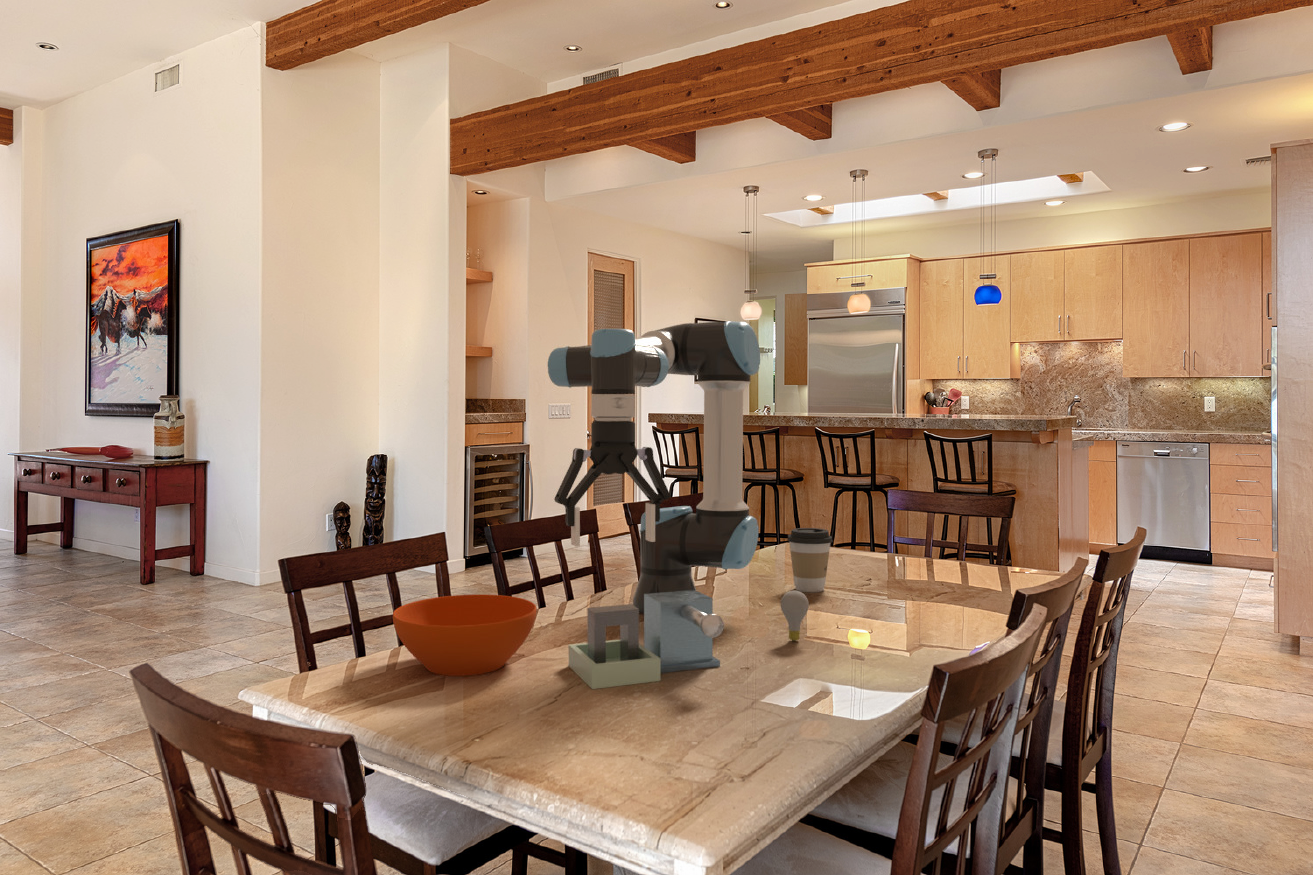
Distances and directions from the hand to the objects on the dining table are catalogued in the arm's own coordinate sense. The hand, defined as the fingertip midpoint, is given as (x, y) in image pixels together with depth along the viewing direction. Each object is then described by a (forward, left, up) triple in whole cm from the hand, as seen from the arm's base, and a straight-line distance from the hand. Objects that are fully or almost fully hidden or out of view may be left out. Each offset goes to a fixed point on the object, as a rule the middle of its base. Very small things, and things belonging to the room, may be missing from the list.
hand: (613, 543), depth 153 cm
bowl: (-15, -23, -23) cm, 36 cm away
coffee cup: (-49, +69, -23) cm, 87 cm away
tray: (0, 0, -23) cm, 23 cm away
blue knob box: (+3, +13, -23) cm, 26 cm away
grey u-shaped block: (0, 0, -22) cm, 22 cm away
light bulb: (-7, +40, -23) cm, 47 cm away
